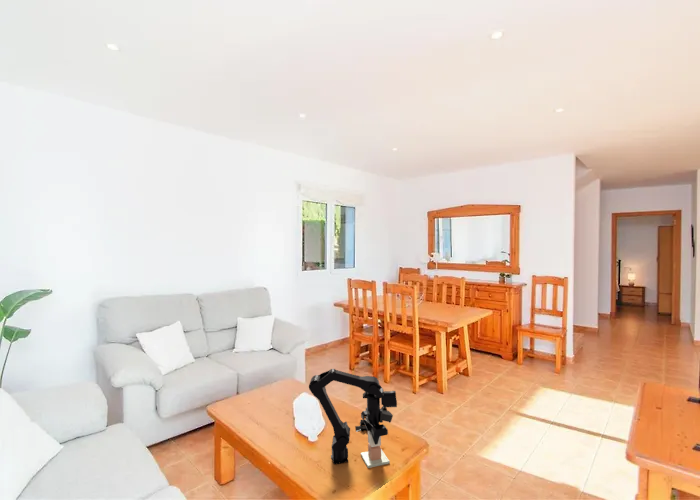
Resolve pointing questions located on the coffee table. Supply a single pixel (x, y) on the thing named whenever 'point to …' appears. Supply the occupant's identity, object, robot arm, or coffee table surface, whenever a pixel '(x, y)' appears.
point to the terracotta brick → (374, 452)
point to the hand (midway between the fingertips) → (374, 441)
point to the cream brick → (371, 442)
